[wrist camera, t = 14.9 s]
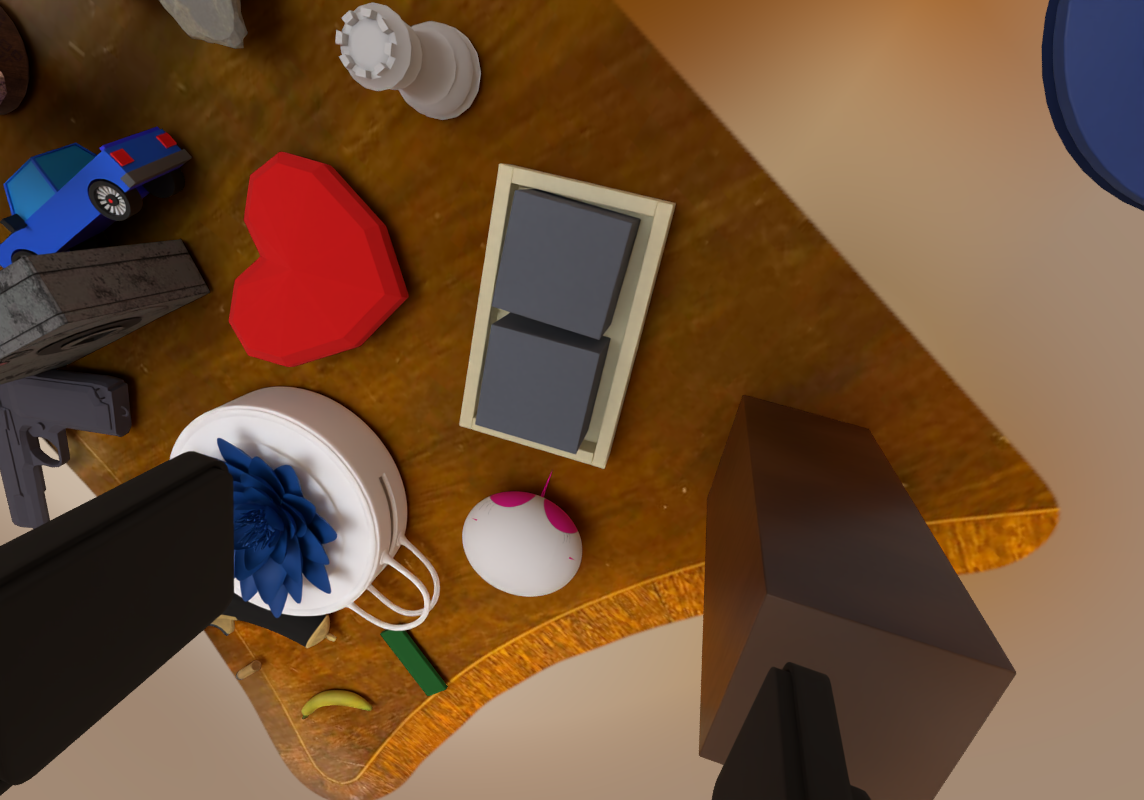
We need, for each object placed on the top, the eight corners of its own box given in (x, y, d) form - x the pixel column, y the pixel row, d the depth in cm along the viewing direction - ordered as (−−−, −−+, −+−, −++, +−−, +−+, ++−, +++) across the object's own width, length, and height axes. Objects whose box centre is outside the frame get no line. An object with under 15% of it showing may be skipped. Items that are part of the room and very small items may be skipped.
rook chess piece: (392, 49, 32) (295, 10, 25) (464, 9, 31) (385, -44, 23) (426, 134, 33) (343, 121, 26) (497, 100, 32) (431, 76, 25)
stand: (869, 428, 33) (1018, 673, 17) (822, 533, 36) (912, 833, 19) (743, 394, 34) (766, 593, 18) (707, 498, 37) (698, 757, 20)
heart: (440, 198, 36) (280, 151, 36) (417, 188, 32) (236, 136, 32) (399, 386, 39) (250, 343, 39) (372, 401, 34) (206, 352, 35)
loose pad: (641, 218, 32) (632, 223, 29) (610, 325, 34) (599, 340, 31) (534, 188, 33) (514, 189, 29) (511, 295, 35) (490, 306, 32)
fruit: (363, 700, 48) (373, 729, 49) (371, 689, 49) (380, 717, 50) (288, 695, 50) (299, 723, 51) (297, 684, 51) (307, 712, 52)
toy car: (100, 258, 42) (33, 195, 40) (211, 168, 38) (143, 91, 35) (22, 302, 36) (-61, 232, 34) (142, 202, 32) (56, 115, 30)
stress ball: (603, 494, 42) (613, 488, 36) (559, 606, 40) (561, 622, 34) (502, 452, 42) (494, 440, 36) (455, 562, 41) (437, 569, 34)
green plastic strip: (402, 620, 46) (384, 628, 47) (397, 626, 45) (380, 634, 46) (449, 683, 47) (431, 689, 48) (445, 689, 46) (427, 696, 47)
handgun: (137, 377, 43) (-17, 323, 43) (110, 391, 41) (-51, 334, 41) (153, 556, 51) (24, 510, 52) (132, 574, 49) (-2, 526, 50)
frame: (676, 203, 32) (673, 204, 30) (609, 455, 37) (604, 469, 36) (510, 164, 33) (498, 163, 31) (470, 414, 39) (458, 425, 37)
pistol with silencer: (194, 713, 58) (98, 644, 55) (357, 614, 48) (251, 524, 45) (161, 757, 54) (57, 685, 51) (331, 659, 44) (214, 564, 41)
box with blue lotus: (97, 534, 40) (334, 725, 41) (184, 368, 33) (461, 598, 35) (182, 486, 46) (385, 652, 47) (269, 338, 40) (500, 534, 41)
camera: (59, 372, 45) (-110, 421, 36) (27, 323, 44) (-154, 361, 35) (215, 294, 40) (63, 328, 30) (183, 236, 39) (16, 253, 29)
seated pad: (611, 337, 34) (600, 353, 31) (588, 431, 37) (575, 455, 33) (511, 311, 35) (491, 324, 32) (495, 404, 37) (474, 424, 34)
